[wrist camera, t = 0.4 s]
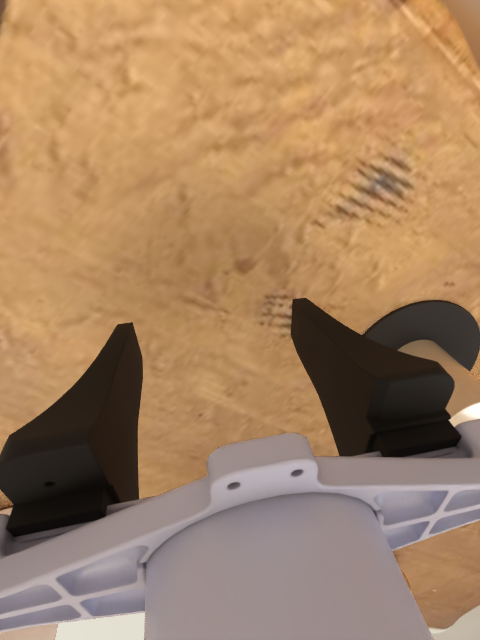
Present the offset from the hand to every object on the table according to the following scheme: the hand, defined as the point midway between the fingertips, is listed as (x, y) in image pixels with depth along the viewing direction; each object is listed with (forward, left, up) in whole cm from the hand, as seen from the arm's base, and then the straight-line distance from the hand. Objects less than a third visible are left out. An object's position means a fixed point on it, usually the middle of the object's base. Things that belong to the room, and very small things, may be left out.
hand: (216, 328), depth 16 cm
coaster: (-7, -21, -11) cm, 24 cm away
